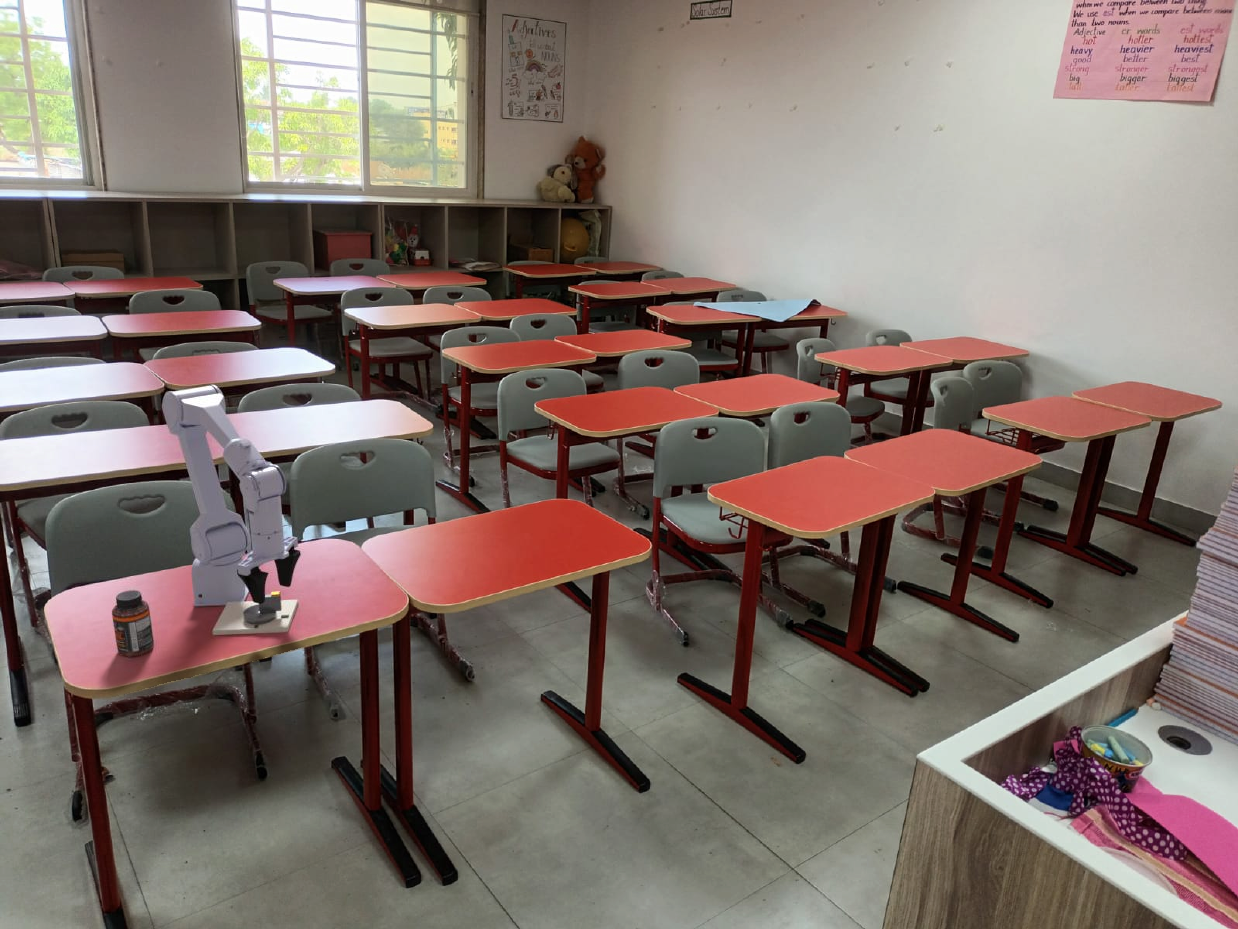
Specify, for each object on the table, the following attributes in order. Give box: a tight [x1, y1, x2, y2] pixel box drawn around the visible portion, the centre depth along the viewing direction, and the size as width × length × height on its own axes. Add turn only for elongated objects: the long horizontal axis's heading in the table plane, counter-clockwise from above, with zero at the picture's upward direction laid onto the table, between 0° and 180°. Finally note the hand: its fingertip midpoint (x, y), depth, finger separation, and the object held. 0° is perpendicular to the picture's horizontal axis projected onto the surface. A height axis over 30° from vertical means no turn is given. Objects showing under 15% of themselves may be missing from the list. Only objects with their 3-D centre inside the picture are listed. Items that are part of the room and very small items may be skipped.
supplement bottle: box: [111, 589, 155, 658], centre depth 157 cm, size 6×6×11 cm
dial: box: [243, 590, 282, 624], centre depth 170 cm, size 7×6×5 cm
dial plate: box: [212, 599, 299, 636], centre depth 172 cm, size 14×12×1 cm
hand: (272, 593), depth 168 cm, fingers open, 7 cm apart
